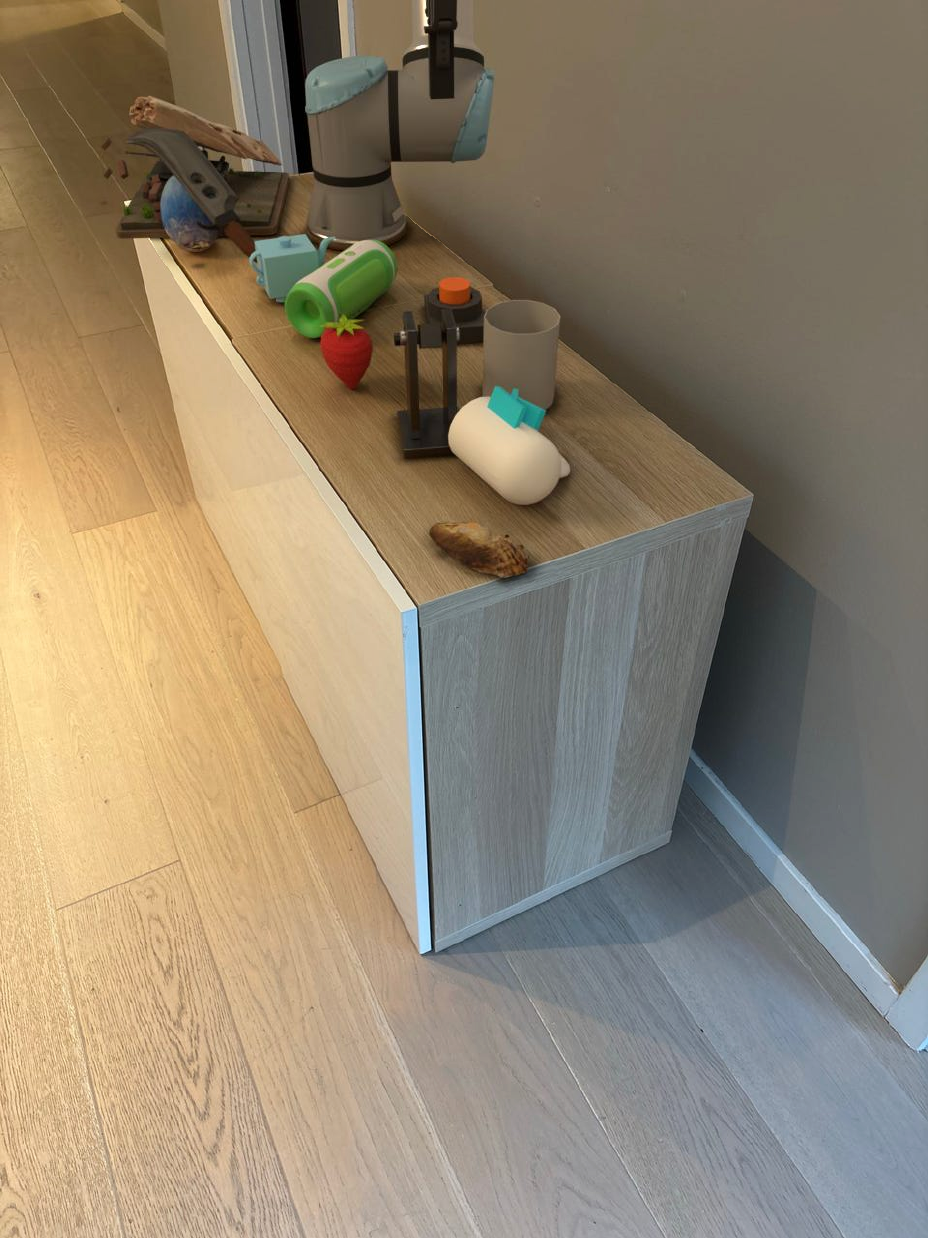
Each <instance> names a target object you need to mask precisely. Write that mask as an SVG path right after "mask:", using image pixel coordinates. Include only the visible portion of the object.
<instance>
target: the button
mask: <svg viewBox="0 0 928 1238" xmlns="http://www.w3.org/2000/svg"><path fill="white" fill-rule="evenodd" d="M438 287H439V300H440V301H441V302H443V303H447V304H463V303H466V302H469V301H470V287H471V281H469V280H468V279H466V278H463V277H458V276H456V277H455V276H453V277H446V278H444V279H441V280H440V281H439V282H438Z"/></svg>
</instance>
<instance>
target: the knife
mask: <svg viewBox="0 0 928 1238" xmlns="http://www.w3.org/2000/svg"><path fill="white" fill-rule="evenodd" d="M124 144H130V145H136V146H139V147H142V148H145V149H146V150H147V151H149V152H150V153H151V154H155V155H156V156H157V157H158V159H161V160H162V161H163V162H164V164H165V165H166V166H167V167H168V169H169V170H170V171H171V172H172V174H173V175H174V176H175V177H176V179H177V180H178V181H179V182H180V184H181V185H182V186H183V187H184V189H185V190H186V191H187V192H188V193H189V195H190V196H191V197H192V198H193V200H194V201H195V202H196V203H197V205H198V206H199V207H200V208H201V210H202V211H203V212H204V213H205V215H206V216H207V217H208V218H209V220H210V221H211V222H212V223H213V225H209V226H208V225H203V224H202V223H201V222H198V221H197V224H196V225H197V226H198V227H200V228H201V229H204V230H209V231H217V233H219V234H220V235H222V236H221V237H225V236H224V235H227V236H226V237H227V238H229V239H230V241H232V243H233V244H234V245H235V246H236V247H237V248H238V249H239V250H240V251H241V252H242V253H243V254H244V255H245V256H246V257H248V258H249V259H250V256H251V255H252V253H254V252H255V251H256V249H255V243H254V242H255V241H256V240H254V239H253V238H252V235H249V234H248V233H247V232H246V230H245V229H244V228H243V227H242V226H241V224H240V223H239V217H238V215H237V214H236V213H235V212H234V211H233V210H234V206H235V204H236V202H237V201H238V199H239V198H238V197H237V195H236V194H235V193H234V191H233V190H232V189H231V187H230V186H229V185H228V183H227V182H226V181H225V179H224V178H223V177H222V176H221V174H220V173H219V172H218V171H217V170H216V168H215V167H214V166H213V165H212V163H211V162H210V161H209V160H210V159H209V157H208V158H207V157H206V156H205V155H204V154H203V152H202V151H201V150H202V149H201V148H200V147H198V146H197V145H196V144H195V143H194V141H193V140H192V139H191V138H190V137H189V136H188V135H187V134H186V133H185V132H184V131H180V130H172V129H163V128H149V129H140V130H138V131H135V132H134V133H133V134H131V135H129V137H128V138H127V139H126V140H124ZM157 157H156V158H157ZM195 182H200V183H198V184H196V183H195ZM208 195H212V196H214V197H215V198H208V197H206V196H208ZM254 263H255V264H257V265H258V262H257V257H255V259H254Z"/></svg>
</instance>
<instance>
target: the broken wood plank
mask: <svg viewBox="0 0 928 1238" xmlns="http://www.w3.org/2000/svg"><path fill="white" fill-rule="evenodd" d="M129 116H130V117H131V120H130V122H131V124H133V125H135V126H137V127H139V128H141V130H143V129H149V128H163V129H172V130H180V131H184V132H185V133H186V134H187V135H188V136H189V137H190V138H191V139H192V140H193V141H194V143H195V144H196V145H197V146H198V147H199V148H200V147H201V148H202V149H207V150H210V151H213V152H216V153H220V154H221V153H223V154H226V155H230V156H234V157H237V158H239V159H243V160H248V159H250V160H252V161H256V162H260V163H265V164H272V165H273V166H274V165H276V166H282V165H283V163H282V162H281V160H280V159H279V157H277V155H276V154H275V153H274V151H272V150H271V148H270V147H269V146H268V145H267V144H266V143H265V142H264V141H263V140H259V139H256V138H254V137H252V136H250V135H248V134H247V133H245V132H242V131H240V130H237V129H235V128H232V127H230V126H227V125H224V124H222V123H217V122H213V121H210V120H208V119H205V118H204V117H202V116H200V115H198V114H196V113H194V112H192V111H190V110H189V109H185V108H183V107H181V106H178V105H175V104H172V103H170V102H168V101H166V100H165V101H164V100H162V99H159V98H156V97H154V96H152V95H148V96H138V97H137V98H136V99H135V100H134V104H133V105H132V106H130V109H129Z"/></svg>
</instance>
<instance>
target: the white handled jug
mask: <svg viewBox="0 0 928 1238" xmlns="http://www.w3.org/2000/svg"><path fill="white" fill-rule="evenodd" d="M459 410H460V411H459V412H458V413H457V414H456V416H455V418H454V420H453V422H452V424H451V425H450V430H449V434H448V439H449V446H450V448H451V450H452V452H453V453H454V454H455V455H454V456H456V457H457V458H458V459H460V460H461V461H462V462H463V463H464V464H465V465H466V466H467V467H468V468H470V470H472V471H473V472H474V473H475V474H477V475H478V476H479V477H480V478H481V479H482V480H483V481H484V482H485V483H486V484H488V485H489V486H490V487H491V488H492V489H493V490H495V491H496V493H498V494H499V495H500V496H501V497H502V498H503V499H504V500H506V501H507V502H509V503H511V504H515V505H520V506H527V505H528V506H529V505H533V504H536V503H538V502H541V501H542V500H544V499H545V498H546V497H548V496H549V495H550V494H551V493H552V491H553V490H554V489H555V488H556V486H557V484H558V482H559V480H560V479H562V478H565V477H568V476H569V474H570V473H571V467H570V464H569V463H568V461H567V459H566V458H564V456H562V455H561V454H560V452H559V450H558V449H557V447H556V445H555V444H554V443H553V442H552V441H551V440H549V439H548V438H547V437H546V436H545V435H543V434H542V433H541V432H539V429H540V427H541V425H542V422H543V420H544V418H545V415H546V412H547V409H546V410H544V409H542V408H540V407H538V406H535V405H533V404H531V403H529V402H527V401H525V400H523V399H521V398H519V397H518V389H514V388H513V391H512V393H511V395H510V394H509V393H507V392H506V391H505V390H504V389H502V388H501V387H500V386H495V388H494V391H493V393H492V396H491V397H482V396H479V397H477V398H475V399H472V400H470V401H469V402H467V403H466V404H465V405H464V406H462V407H461V408H460V409H459Z"/></svg>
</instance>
